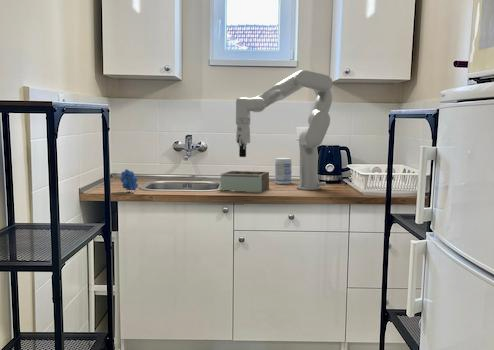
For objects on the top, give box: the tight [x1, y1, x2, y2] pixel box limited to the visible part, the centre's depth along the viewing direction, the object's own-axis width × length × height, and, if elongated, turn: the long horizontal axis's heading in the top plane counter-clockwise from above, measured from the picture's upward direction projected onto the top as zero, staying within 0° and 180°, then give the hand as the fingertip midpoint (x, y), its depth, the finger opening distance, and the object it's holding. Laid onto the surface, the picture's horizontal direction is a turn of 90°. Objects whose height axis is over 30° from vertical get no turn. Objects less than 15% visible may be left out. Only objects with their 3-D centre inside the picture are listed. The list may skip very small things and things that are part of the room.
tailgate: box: [220, 173, 263, 193], centre depth 244 cm, size 22×1×9 cm, turn 73°
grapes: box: [120, 168, 139, 191], centre depth 244 cm, size 12×7×12 cm, turn 59°
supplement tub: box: [274, 157, 292, 185], centre depth 275 cm, size 10×10×15 cm
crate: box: [221, 170, 270, 193], centre depth 252 cm, size 22×15×9 cm, turn 73°
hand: (242, 156), depth 247 cm, fingers closed
